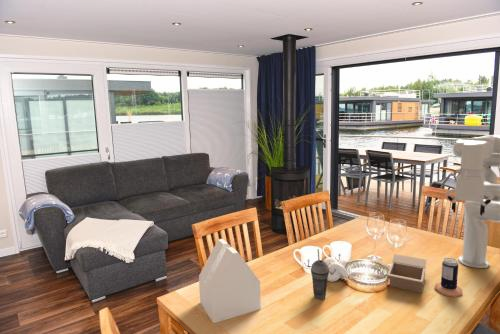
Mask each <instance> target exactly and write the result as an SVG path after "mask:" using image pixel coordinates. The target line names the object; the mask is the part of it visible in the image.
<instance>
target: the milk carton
mask: <svg viewBox="0 0 500 334" xmlns="http://www.w3.org/2000/svg"><path fill="white" fill-rule="evenodd" d="M198 286H199V303H200V305H201V306H202V308H203V309H204V311H205V313H206V314H207V315H208V317H209V319H210V320H211V322H212V323H213V324H215V323H218V322H219V323H220V322H222V321H225V320H228V319H233V318H236V317H238V316H242V315H246V314H249V313H253V312H256V311H258V310H259V311H260V310H261V309H262V308H261V307H262V305H261V303H262V302H261V298H262V297H261V280H260V279H259V278H258V277H257V275H256V274H255V273H254V271H253V270H252V269H251V268H250V266H249V265H248V263H247V262H246V260H245V259H243V257H242V255H241V254H240V253H239V252H238V251H237V250H236V249H235V248H234V247H233V246H231V245H230V244H229V243H228V242H227V241H226V240H225V239H224V238H220V239H217V241H216V243H215V245H214V247H213V248H212V251H211V252H210V254H209V256H208V258H207V260H206V262H205V264H204V265H203V268H202V269H201V270H200V273H199V275H198Z"/></svg>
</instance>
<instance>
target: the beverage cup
mask: <svg viewBox="0 0 500 334" xmlns="http://www.w3.org/2000/svg"><path fill="white" fill-rule="evenodd" d="M310 273H311V278H312V288H313V289H312V290H313V291H312V292H313V298H314V299H315V300H317V301H323V300H325V299H326V295H327V289H328V288H327V287H328V280H327V279H328V274H329V268H328V265H327V264H326V263H325V262H324V260H322V259H320V251H319V248H318V249H317V260H314V262H313V263H312V264H311V267H310Z"/></svg>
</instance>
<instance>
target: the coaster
mask: <svg viewBox="0 0 500 334" xmlns="http://www.w3.org/2000/svg"><path fill="white" fill-rule="evenodd" d="M434 290H435V291H436V292H437V293H439V294H441V295H443V296H447V297H452V298H453V297H454V298H455V297H461V296H462V295H463V289H462V288H461V287H460V286H459V285H457V288H456V289H454V290H446V289H444V288H443V287H442V286H441V281H439V282H436V283H434Z"/></svg>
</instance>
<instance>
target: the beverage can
mask: <svg viewBox="0 0 500 334" xmlns="http://www.w3.org/2000/svg"><path fill="white" fill-rule="evenodd" d="M441 265H442V266H441V280H440V282H441V286H442V287H443V288H444V289H446V290H454V289H456V288H457V286H458V275H459V263H458V260H457V259H455V258H452V257H451V258H449V257H445V258H444V259H443V260H442V263H441Z"/></svg>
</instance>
